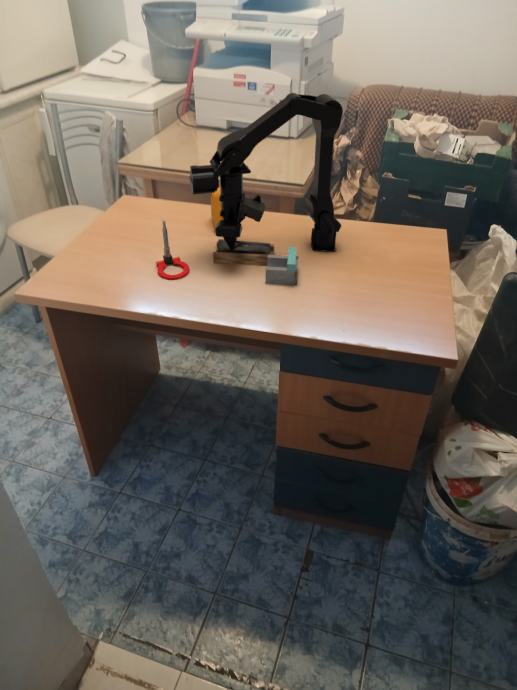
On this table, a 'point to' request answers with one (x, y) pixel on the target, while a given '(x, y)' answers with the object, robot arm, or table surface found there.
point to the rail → (242, 257)
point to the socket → (280, 271)
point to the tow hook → (170, 260)
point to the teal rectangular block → (291, 259)
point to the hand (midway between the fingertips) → (233, 245)
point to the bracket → (216, 207)
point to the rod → (245, 247)
